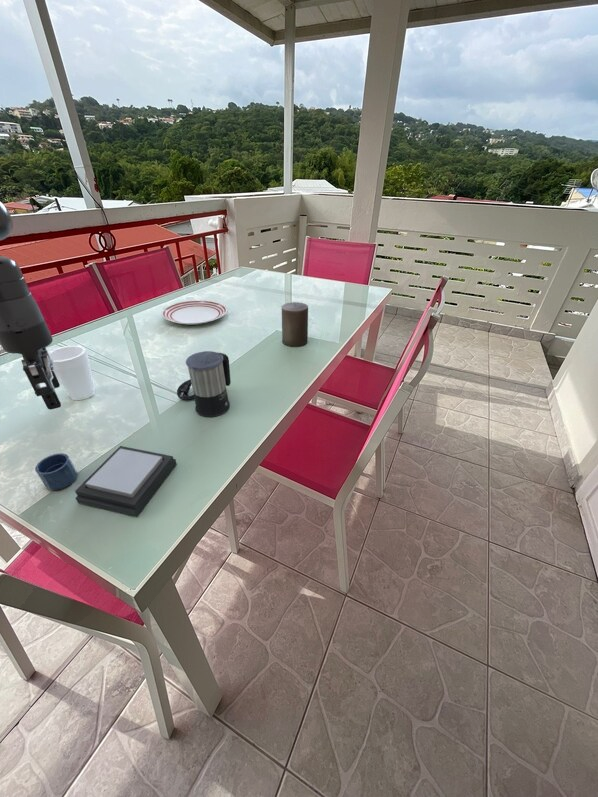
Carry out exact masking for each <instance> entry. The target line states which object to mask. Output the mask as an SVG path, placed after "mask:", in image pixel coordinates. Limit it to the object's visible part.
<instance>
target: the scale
mask: <svg viewBox="0 0 598 797" xmlns="http://www.w3.org/2000/svg"><path fill="white" fill-rule="evenodd" d="M119 449H125V450H130V451H135V452H141V453H146V454H151V455H156V456H161V457H162V459H163V462H162V463H161V464H160V465H159V467H158V468H157V469H156V470H155V472H154V473H153V474H152V475H151V477H150V478H149V479H148V480H147V482H146V483H145V484H144V485H143V486H142V488H141V489H140V490H139V491H138V493H137V494H136V495H135V496H134V498H129V497H124V496H120V495H115V494H111V493H107V492H102V491H98V490H94V489H89V488H88V487H87V486H86V483H87V482H88V481H89V480H90V479H91V478H92V477H93V476H94V475H95V474H96V473H97V472H98V471H99V470H100V469H101V468H102V467H103V466H104V465H105V464H106V463H107V462H108V461H109V460H110V459H111V458H112V457H113V455H114V454H115V453H116V452H117V451H118V450H119ZM177 465H178V463H177V458H174V456H173V455H169V454H164V453H160V452H155V451H154V452H153V451H148V450H143V449H139V448H133V447H128V446H123V445H119V446H118V448H117V449H115V450H114V452H113V453H112V454H110V455H109V456H108V457H107V458H106V459H105V460H104V461H103V463H101V464H100V465H99V466H98V467H97V468H96V469H95V470H94V471H93V472H92V473H91V474H90V475H89V476H88V477H87V478H86V480H84V481H83V482H82V484H80V485H79V486H78V487H77V488H76V489H75V490H74V492H75V494H76V497H75V500H76V502H77V504H80V505H83V506H88V507H93V508H96V509H101V510H105V511H109V512H114V513H117V514H121V515H126V516H129V517H135V518H138V517H139V515H140V514H141V513H142V511H143V510H144V509H145V507H146V506H147V504H149V502H150V501H151V499H152V498H153V497H154V495H155V494H156V493H157V492H158V490H159V489H160V487H161V486H162V485H163V483H164V482H165V481H166V479H167V478H168V477H169V475H171V473H172V471H173V470H174V469H175V468H176V466H177Z"/></svg>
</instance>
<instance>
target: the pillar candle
mask: <svg viewBox="0 0 598 797" xmlns="http://www.w3.org/2000/svg"><path fill="white" fill-rule="evenodd" d="M280 307H281V340H282V341H281V343H282V344H283V345H284V346H287V347H291V348H299V347H303V346H306V345H307V344H308V340H309V339H308V337H309V305H308V304H307V303H303V302H300V301H293V302H292V301H291V302H287V303H284V304H282V305H281V306H280Z"/></svg>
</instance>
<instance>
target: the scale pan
mask: <svg viewBox="0 0 598 797" xmlns="http://www.w3.org/2000/svg"><path fill="white" fill-rule="evenodd" d="M162 462H163V459H162V457H161V456H156V455H151V454H146V453H141V452H135V451H130V450H125V449H119V450H118V451H117V452H116V453H115V454H114V455H113V457H112V458H111V459H110V460H109V461H108V462H107V463H106V464H105V465H104V466H103V467H102V468H101V469H100V470H99V471H98V472H97V473H96V474H95V475H94V476H93V477H92V478H91V479H90V480H89V481H88V482H87V483H86V486H87V487H88V488H89V489H94V490H98V491H102V492H107V493H111V494H115V495H120V496H124V497H129V498H134V496H135V495H136V494H137V493H138V491H139V490H140V489H141V488H142V486H143V485H144V484H145V483H146V482H147V480H148V479H149V478H150V477H151V475H152V474H153V473H154V472H155V470H156V469H157V468H158V467H159V465H160V464H161V463H162Z"/></svg>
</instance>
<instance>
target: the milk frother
mask: <svg viewBox="0 0 598 797" xmlns="http://www.w3.org/2000/svg"><path fill="white" fill-rule="evenodd" d="M185 365H186V366H187V369H188V370H187V371H188V375H189V379H187V380H185V381H184V382H182V383H181V384H180V385H179V386H178V388H177V390H176V395H177V397H178V398H179V399H181V400H184V401H193V400H194V404H195V406H194V407H195V408H194V409H195V412H196V413H197V414H198V415H200V416H202V417H206V418H208V417H209V418H213V417H214V418H215V417H218V416H220V415H223V414H225V413H226V412H227V411H228V410H229V408H230V407H231V403H230V400H229V396H228V390H227V387H230V386H231V382H232V381H231V369H230V368H231V367H230V359H229V357H228V355H227V354H226V353H224V352H218V351H217V352H216V351H212V350H208V351H207V350H205V351H199V352H195V353H193V354H191V355H189V356H188V357H187V358H186V360H185ZM191 387H192V392H193V394H191V395H189V393H190V390H191Z"/></svg>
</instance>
